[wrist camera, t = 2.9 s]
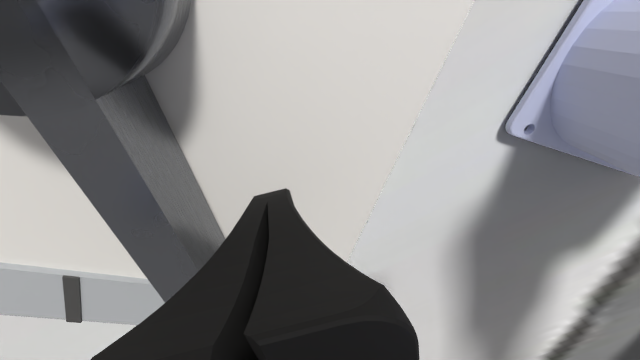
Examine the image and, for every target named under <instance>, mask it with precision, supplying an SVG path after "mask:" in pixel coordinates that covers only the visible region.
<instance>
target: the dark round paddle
mask: <svg viewBox="0 0 640 360" xmlns="http://www.w3.org/2000/svg"><path fill="white" fill-rule="evenodd" d="M190 5H191V0H0V115H9V116H27V117H28V118H29V120H30V121H31V122H32V124H33V125H34V126H35V128H36V129H37V130H38V132H39V133H40V134H41V136H42V137H43V139H44V140H45V141H46V143H47V144H48V145H49V147H50V148H51V149H52V151H53V152H54V153H55V155H56V156H57V157H58V159H59V160H60V161H61V163H62V164H63V166H64V167H65V168H66V170H67V171H68V172H69V174H70V175H71V176H72V178H73V179H74V180H75V182H76V183H77V184H78V186H79V187H80V188H81V190H82V191H83V193H84V194H85V195H86V197H87V198H88V199H89V201H90V202H91V203H92V205H93V206H94V207H95V209H96V210H97V211H98V213H99V214H100V215H101V217H102V218H103V220H104V221H105V222H106V224H107V225H108V226H109V228H110V229H111V230H112V232H113V233H114V234H115V236H116V237H117V238H118V240H119V241H120V243H121V244H122V245H123V247H124V248H125V249H126V251H127V252H128V253H129V255H130V256H131V257H132V259H133V260H134V261H135V263H136V264H137V265H138V267H139V268H140V270H141V271H142V272H143V274H144V275H145V276H146V278H147V279H148V280H149V282H150V283H151V284H152V286H153V287H154V288H155V290H156V291H157V292H158V294H159V295H160V297H161V298H162V299H163V301H164V302H167V301H168V300H169V299H170V298H171V297H172V296H174V295H175V294H176V293H177V292H178V291H179V290H180V289H181V288H182V287H183V286H184V285H185V284H186V283H187V282H188V281H189V280H190V279H191V278H192V277H193V276H194V275H195V274H196V273H197V272H198V271H199V270H200V269H201V268H202V267H203V266H204V265H205V264H206V263H207V262H208V260H209V259H210V258H211V257H212V256H213V255H214V253H215V252H216V251H217V250H218V248H219V247H220V246H221V244H222V243H223V242H224V240H225V238H224V236H223V233H222V231H221V229H220V227H219V225H218V223H217V221H216V219H215V217H214V215H213V213H212V211H211V209H210V207H209V205H208V203H207V201H206V199H205V197H204V195H203V193H202V191H201V189H200V187H199V185H198V183H197V181H196V179H195V176H194V174H193V172H192V170H191V168H190V166H189V164H188V162H187V160H186V158H185V156H184V154H183V152H182V150H181V148H180V146H179V144H178V142H177V140H176V138H175V136H174V134H173V132H172V130H171V128H170V126H169V124H168V122H167V119H166V117H165V115H164V113H163V111H162V109H161V107H160V105H159V103H158V101H157V99H156V97H155V95H154V93H153V91H152V89H151V87H150V85H149V83H148V81H147V79H146V77H145V75H146V74H148V73H149V72H151V71H152V70H153V69H155V68H156V67H158V66H159V65H160V64H161V63H162V62H163V61H164V60H165V59H166V58H167V57H168V56H169V55H170V53H171V52H172V50H173V49H174V48H175V46H176V45H177V43H178V41H179V39H180V37H181V35H182V33H183V31H184V28H185V25H186V22H187V19H188V16H189V11H190Z"/></svg>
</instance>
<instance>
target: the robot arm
mask: <svg viewBox="0 0 640 360" xmlns="http://www.w3.org/2000/svg"><path fill="white" fill-rule="evenodd" d="M527 125H528V128H527V129H526V130H525V131H524V129H525V127H526V126H527ZM505 129H506V132H507V133H509V134H511V135H513V136H515V137H518V138H521V139H524V140H527V141H530V142H533V143H536V144H539V145H542V146H545V147H549V148H552V149H555V150H558V151H561V152H564V153H567V154H570V155H573V156H576V157H579V158H582V159H585V160H588V161H591V162H594V163H597V164H601V165H604V166H607V167H610V168H613V169H616V170H619V171H622V172H625V173H628V174H631V175H634V176H638V177H640V0H583V2H582V4H581V5H580V7H579V8H578V10H577V12H576V13H575V15H574V16H573V18H572V20H571V21H570V23H569V24H568V26H567V27H566V29H565V31H564V32H563V34H562V35H561V37H560V39H559V40H558V42H557V43H556V45H555V46H554V48H553V50H552V51H551V53H550V54H549V56H548V58H547V59H546V61H545V62H544V64H543V66H542V67H541V69H540V70H539V72H538V73H537V75H536V77H535V78H534V80H533V81H532V83H531V85H530V86H529V88H528V89H527V91H526V92H525V94H524V96H523V97H522V99H521V100H520V102H519V104H518V105H517V107H516V108H515V110H514V111H513V113H512V115H511V116H510V118H509V119H508V121H507V123H506V127H505ZM91 360H419V345H418V339H417V335H416V332H415V330H414V328H413V326H412V324H411V322H410V321H409V319H408V317H407V316H406V314H405V313H404V311H403V310H402V308H401V307H400V305H399V304H398V303H397V301H396V300H395V299H394V297H393V296H392V295H391V294H390V292H389V291H388V290H387V289H386V288H385V286H384V285H382V284H380V283H378V282H376V281H375V280H373V279H371V278H369V277H368V276H366V275H364V274H363V273H361V272H360V271H358V270H357V269H355V268H354V267H352V266H351V265H349V264H348V263H347V262H345V261H344V260H343V259H342V258H340V257H339V256H338V255H336V254H335V253H334V252H333V251H331V250H330V249H329V248H328V247H327V246H326V245H325V244H324V243H323V242H322V241H321V240H320V239H319V238H318V237H317V236H316V235H315V234H314V233H313V231H312V230H311V229H310V228H309V227H308V225H307V224H306V223H305V221H304V220H303V219H302V217H301V216H300V214H299V213H298V211H297V210H296V208H295V206H294V203H293V200H292V196H291V193H290V190H288V189H286V188H285V189H281V190H277V191H273V192H269V193H265V194H261V195H257V196H254V197H253V199H252V200H251V202H250V203H249V205H248V206H247V208H246V210H245V211H244V213H243V214H242V216H241V218H240V219H239V221H238V222H237V224H236V225H235V227H234V228H233V230H232V231H231V232H230V234H229V235H228V236H227V238H226V239H225V240H224V242H223V243H222V244H221V246H220V247H219V248H218V250H217V251H216V252H215V253H214V255H213V256H212V257H211V258H210V259H209V260H208V262H207V263H206V264H205V265H204V266H203V267H202V268H201V269H200V270H199V271H198V272H197V273H196V274H195V275H194V276H193V277H192V278H191V279H190V280H189V281H188V282H187V283H186V284H185V285H184V286H183V287H182V288H181V289H180V290H179V291H178V292H177V293H176V294H175V295H174V296H172V297H171V298H170V299H169V300H168V301H167V302H165V303H164V304H163V305H162V306H161V307H160V308H158V309H157V310H156V311H155V312H154V313H152V314H151V315H150V316H149V317H147V318H146V319H145V320H144V321H142V322H141V323H140V324H138V325H137V326H136V327H135V328H133V329H132V330H131V331H129V332H128V333H126V334H125V335H124V336H122V337H121V338H119V339H118V340H117V341H115V342H114V343H112V344H111V345H110V346H108V347H107V348H105V349H104V350H103V351H101V352H100V353H98V354H97V355H95V356H94V357H92V359H91Z"/></svg>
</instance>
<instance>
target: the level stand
mask: <svg viewBox="0 0 640 360" xmlns="http://www.w3.org/2000/svg"><path fill="white" fill-rule="evenodd" d="M474 1H475V0H191V5H190V11H189V16H188V19H187V22H186V25H185V28H184V31H183V33H182V35H181V37H180V39H179V41H178V43H177V45H176V46H175V48H174V49H173V50H172V52H171V53H170V55H169V56H168V57H167V58H166V59H165V60H164V61H163V62H162V63H161V64H160V65H159V66H158V67H156V68H155V69H153V70H152V71H151V72H149V73H148V74H146V75H145V77H146V79H147V81H148V83H149V85H150V87H151V89H152V91H153V93H154V95H155V97H156V99H157V101H158V103H159V105H160V107H161V109H162V111H163V113H164V115H165V117H166V119H167V122H168V124H169V126H170V128H171V130H172V132H173V134H174V136H175V138H176V140H177V142H178V144H179V146H180V148H181V150H182V152H183V154H184V156H185V158H186V160H187V162H188V164H189V166H190V168H191V170H192V172H193V174H194V176H195V179H196V181H197V183H198V185H199V187H200V189H201V191H202V193H203V195H204V197H205V199H206V201H207V203H208V205H209V207H210V209H211V211H212V213H213V215H214V217H215V219H216V221H217V223H218V225H219V227H220V229H221V231H222V233H223V236H224V238H225V239H226V238H227V236H228V235H229V234H230V232H231V231H232V230H233V228H234V227H235V225H236V224H237V222H238V221H239V219H240V218H241V216H242V214H243V213H244V211H245V210H246V208H247V206H248V205H249V203H250V202H251V200H252V199H253V197H254V196H257V195H261V194H265V193H269V192H273V191H277V190H281V189H285V188H286V189H288V190H290V193H291V196H292V200H293V203H294V206H295V208H296V210H297V211H298V213H299V214H300V216H301V217H302V219H303V220H304V221H305V223H306V224H307V225H308V227H309V228H310V229H311V230H312V231H313V233H314V234H315V235H316V236H317V237H318V238H319V239H320V240H321V241H322V242H323V243H324V244H325V245H326V246H327V247H328V248H329V249H330V250H331V251H333V252H334V253H335V254H336V255H338V256H339V257H340V258H342V259H343V260H344V261H345V262H348V260H349V258H350V256H351V254H352V252H353V249H354V247H355V245H356V243H357V241H358V239H359V237H360V235H361V233H362V231H363V229H364V227H365V225H366V223H367V221H368V219H369V217H370V215H371V213H372V210H373V208H374V206H375V204H376V202H377V200H378V198H379V196H380V194H381V192H382V190H383V188H384V186H385V184H386V182H387V180H388V178H389V176H390V173H391V171H392V169H393V167H394V165H395V163H396V161H397V159H398V157H399V155H400V153H401V151H402V149H403V147H404V145H405V143H406V141H407V139H408V137H409V134H410V132H411V130H412V128H413V126H414V124H415V122H416V120H417V118H418V116H419V114H420V112H421V110H422V108H423V106H424V104H425V102H426V100H427V97H428V95H429V93H430V91H431V89H432V87H433V85H434V83H435V81H436V79H437V77H438V75H439V73H440V71H441V69H442V67H443V65H444V63H445V61H446V58H447V56H448V54H449V52H450V50H451V48H452V46H453V44H454V42H455V40H456V38H457V36H458V34H459V32H460V30H461V28H462V26H463V24H464V22H465V19H466V17H467V15H468V13H469V11H470V9H471V7H472V5H473V3H474ZM164 303H165V302H164V301H163V299H162V298H161V297H160V295H159V294H158V292H157V291H156V290H155V288H154V287H153V286H152V284H151V283H150V282H149V280H148V279H147V278H146V276H145V275H144V274H143V272H142V271H141V270H140V268H139V267H138V265H137V264H136V263H135V261H134V260H133V259H132V257H131V256H130V255H129V253H128V252H127V251H126V249H125V248H124V247H123V245H122V244H121V243H120V241H119V240H118V238H117V237H116V236H115V234H114V233H113V232H112V230H111V229H110V228H109V226H108V225H107V224H106V222H105V221H104V220H103V218H102V217H101V215H100V214H99V213H98V211H97V210H96V209H95V207H94V206H93V205H92V203H91V202H90V201H89V199H88V198H87V197H86V195H85V194H84V193H83V191H82V190H81V188H80V187H79V186H78V184H77V183H76V182H75V180H74V179H73V178H72V176H71V175H70V174H69V172H68V171H67V170H66V168H65V167H64V166H63V164H62V163H61V161H60V160H59V159H58V157H57V156H56V155H55V153H54V152H53V151H52V149H51V148H50V147H49V145H48V144H47V143H46V141H45V140H44V139H43V137H42V136H41V134H40V133H39V132H38V130H37V129H36V128H35V126H34V125H33V124H32V122H31V121H30V120H29V118H28V117H27V116H9V115H0V315H10V316H24V317H37V318H50V319H64V320H66V322H77V323H81V322H82V321H90V322H103V323H117V324H130V325H138V324H140V323H141V322H142V321H144V320H145V319H146V318H147V317H149V316H150V315H151V314H152V313H154V312H155V311H156V310H157V309H158V308H160V307H161V306H162V305H163V304H164Z"/></svg>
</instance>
